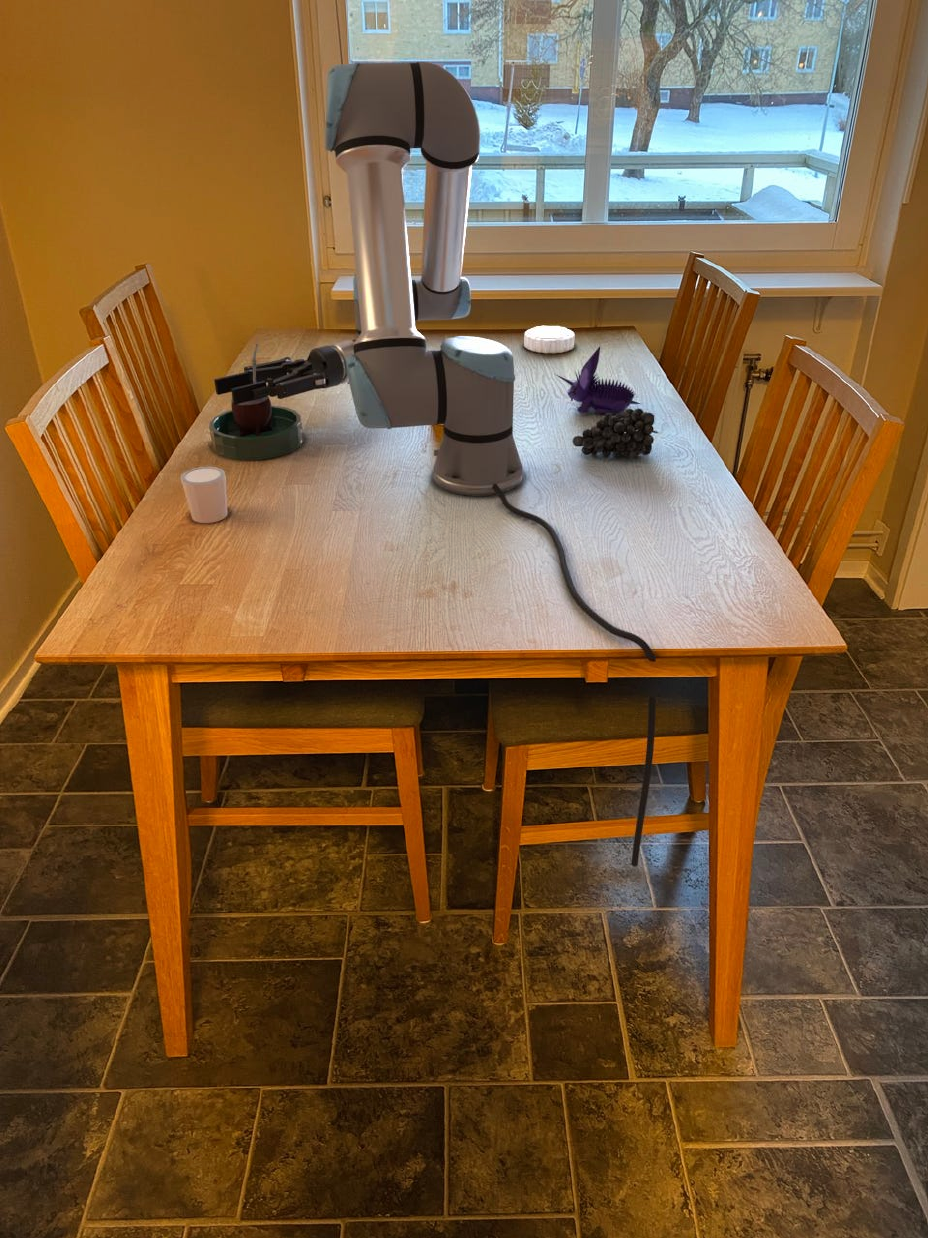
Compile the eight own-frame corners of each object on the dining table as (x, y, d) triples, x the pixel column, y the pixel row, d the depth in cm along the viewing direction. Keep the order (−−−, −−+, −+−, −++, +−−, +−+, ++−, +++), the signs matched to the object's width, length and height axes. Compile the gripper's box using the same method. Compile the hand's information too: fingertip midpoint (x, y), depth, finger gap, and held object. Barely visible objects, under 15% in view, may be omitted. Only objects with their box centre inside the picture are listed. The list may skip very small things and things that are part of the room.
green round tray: (305, 456, 169) (303, 434, 167) (211, 463, 166) (207, 441, 164) (300, 422, 183) (298, 402, 180) (214, 429, 180) (210, 408, 178)
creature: (553, 399, 192) (556, 340, 186) (641, 404, 190) (648, 344, 183) (549, 415, 185) (552, 354, 178) (641, 420, 183) (647, 358, 176)
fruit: (574, 410, 162) (661, 408, 161) (570, 409, 170) (653, 406, 169) (574, 461, 164) (660, 458, 163) (570, 457, 172) (652, 455, 171)
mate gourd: (241, 442, 169) (225, 360, 161) (232, 429, 176) (217, 349, 167) (281, 434, 172) (268, 353, 164) (271, 421, 178) (258, 342, 170)
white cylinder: (220, 526, 146) (213, 485, 142) (180, 522, 147) (172, 482, 143) (238, 507, 152) (232, 467, 148) (199, 503, 153) (191, 464, 149)
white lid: (547, 335, 230) (548, 321, 228) (584, 346, 223) (585, 331, 221) (513, 345, 224) (513, 330, 222) (550, 357, 216) (550, 341, 214)
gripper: (363, 396, 174) (252, 427, 162) (311, 371, 186) (204, 398, 174) (361, 357, 170) (246, 384, 158) (307, 333, 182) (197, 358, 170)
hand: (224, 391), depth 166 cm, fingers closed on mate gourd, 6 cm apart
